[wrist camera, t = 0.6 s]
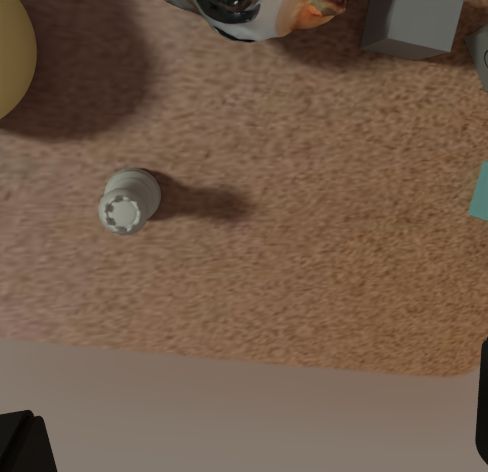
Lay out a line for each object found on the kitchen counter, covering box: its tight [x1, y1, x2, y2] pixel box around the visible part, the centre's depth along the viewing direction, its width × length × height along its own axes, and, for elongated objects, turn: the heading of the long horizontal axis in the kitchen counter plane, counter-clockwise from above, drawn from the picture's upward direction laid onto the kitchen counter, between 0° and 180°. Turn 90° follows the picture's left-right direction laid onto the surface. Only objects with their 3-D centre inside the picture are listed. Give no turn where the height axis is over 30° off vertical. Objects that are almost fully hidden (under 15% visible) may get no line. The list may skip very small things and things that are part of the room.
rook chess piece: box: [98, 168, 161, 235], centre depth 32 cm, size 4×4×8 cm
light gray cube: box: [359, 0, 464, 61], centre depth 33 cm, size 5×5×5 cm
